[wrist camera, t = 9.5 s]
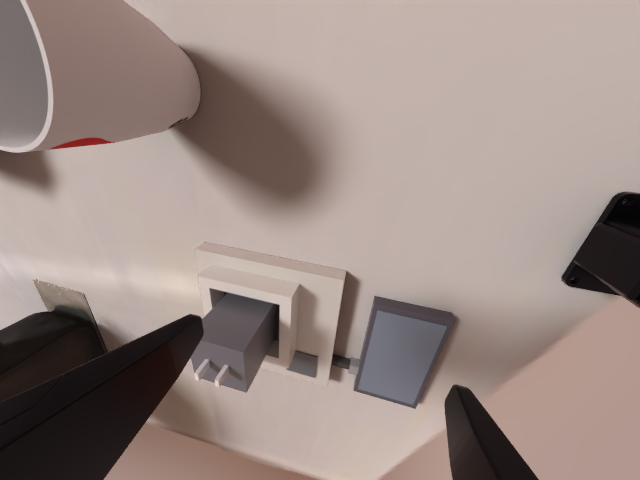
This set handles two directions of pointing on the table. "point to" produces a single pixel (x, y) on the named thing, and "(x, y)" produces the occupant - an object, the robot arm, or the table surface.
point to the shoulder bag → (48, 341)
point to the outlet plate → (280, 304)
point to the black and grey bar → (347, 364)
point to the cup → (87, 75)
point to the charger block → (235, 341)
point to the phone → (401, 350)
